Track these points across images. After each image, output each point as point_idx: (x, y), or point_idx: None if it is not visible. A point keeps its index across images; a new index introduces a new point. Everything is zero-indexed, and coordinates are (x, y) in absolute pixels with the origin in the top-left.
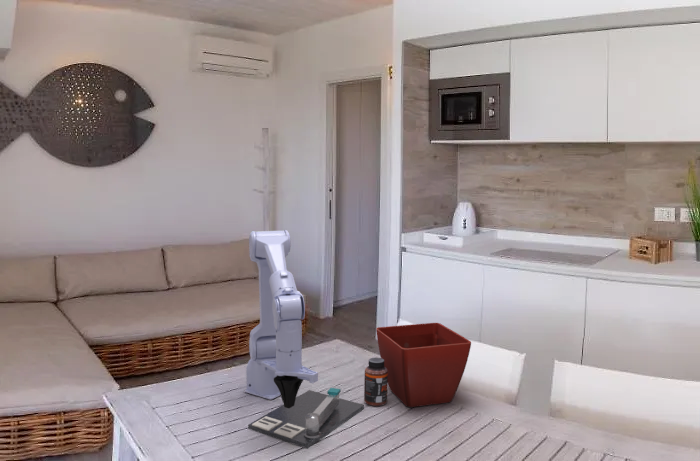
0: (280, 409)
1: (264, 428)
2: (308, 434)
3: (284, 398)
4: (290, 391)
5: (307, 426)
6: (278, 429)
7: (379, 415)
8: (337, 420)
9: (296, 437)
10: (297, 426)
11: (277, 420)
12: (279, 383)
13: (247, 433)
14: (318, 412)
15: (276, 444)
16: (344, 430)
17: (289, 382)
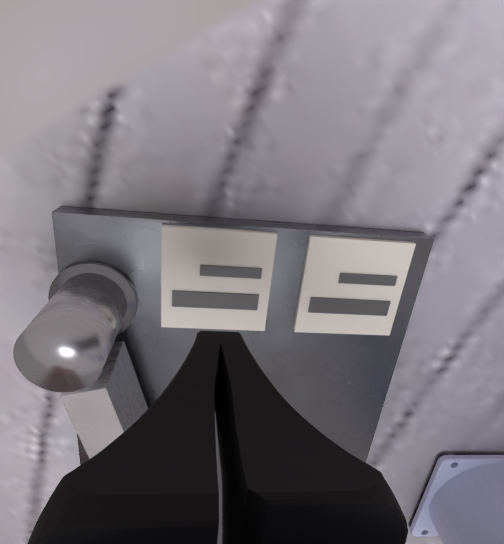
0: (362, 409)
1: (337, 238)
2: (89, 276)
3: (228, 365)
4: (134, 423)
5: (82, 296)
6: (266, 260)
7: (14, 537)
8: None
9: (147, 244)
10: (202, 324)
11: (319, 327)
12: (279, 465)
13: (406, 194)
14: (84, 414)
15: (219, 169)
16: (41, 406)
17: (56, 525)
